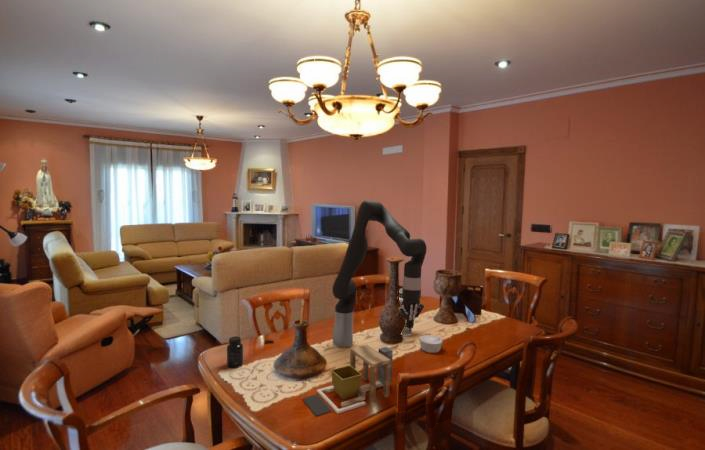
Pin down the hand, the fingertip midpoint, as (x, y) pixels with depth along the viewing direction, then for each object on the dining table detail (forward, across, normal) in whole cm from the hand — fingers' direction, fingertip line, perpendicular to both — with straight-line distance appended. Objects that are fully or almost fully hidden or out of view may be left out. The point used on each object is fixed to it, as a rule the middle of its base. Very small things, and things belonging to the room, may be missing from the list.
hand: (409, 327), depth 155 cm
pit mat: (+21, +43, +1) cm, 48 cm away
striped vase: (+21, -29, -39) cm, 53 cm away
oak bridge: (+21, +20, +1) cm, 29 cm away
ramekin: (+21, -28, -16) cm, 39 cm away
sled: (+21, +23, +1) cm, 31 cm away
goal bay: (+21, +33, +1) cm, 39 cm away
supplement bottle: (+22, +60, -44) cm, 78 cm away
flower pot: (+21, +30, 0) cm, 37 cm away
